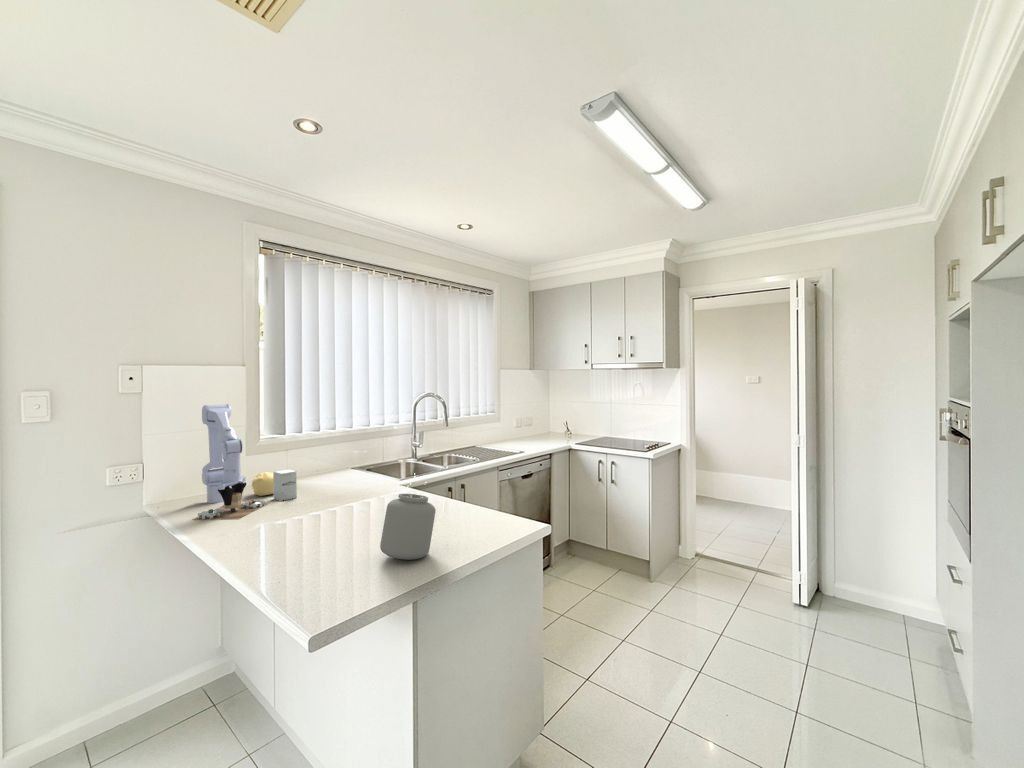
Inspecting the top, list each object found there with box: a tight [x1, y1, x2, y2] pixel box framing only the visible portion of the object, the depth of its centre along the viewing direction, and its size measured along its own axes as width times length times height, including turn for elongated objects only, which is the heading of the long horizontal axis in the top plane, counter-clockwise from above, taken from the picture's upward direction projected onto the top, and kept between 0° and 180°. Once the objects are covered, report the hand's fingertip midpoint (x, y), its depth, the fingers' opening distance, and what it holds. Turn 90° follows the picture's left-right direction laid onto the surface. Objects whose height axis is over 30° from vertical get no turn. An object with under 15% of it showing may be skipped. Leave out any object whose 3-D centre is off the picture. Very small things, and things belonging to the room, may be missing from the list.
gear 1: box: [197, 508, 224, 521], centre depth 172 cm, size 8×8×2 cm
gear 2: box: [241, 499, 266, 509], centre depth 185 cm, size 8×8×3 cm
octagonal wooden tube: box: [223, 492, 242, 509], centre depth 179 cm, size 6×6×5 cm
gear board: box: [191, 502, 271, 521], centre depth 179 cm, size 22×18×5 cm
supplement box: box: [272, 469, 298, 502], centre depth 203 cm, size 7×7×13 cm
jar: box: [379, 472, 437, 560], centre depth 135 cm, size 19×15×25 cm
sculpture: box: [251, 471, 274, 497], centre depth 211 cm, size 12×12×11 cm
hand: (232, 503), depth 179 cm, fingers closed on octagonal wooden tube, 6 cm apart
